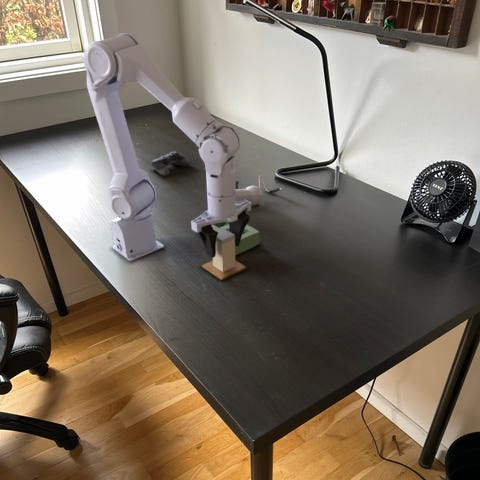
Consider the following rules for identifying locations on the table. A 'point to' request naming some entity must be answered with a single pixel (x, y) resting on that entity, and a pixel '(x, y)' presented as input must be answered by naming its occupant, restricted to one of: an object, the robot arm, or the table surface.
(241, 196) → the clip-on lamp
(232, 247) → the cream rectangular block
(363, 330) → the table surface
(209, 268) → the cork pad
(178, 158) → the gaming controller
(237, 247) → the holder
